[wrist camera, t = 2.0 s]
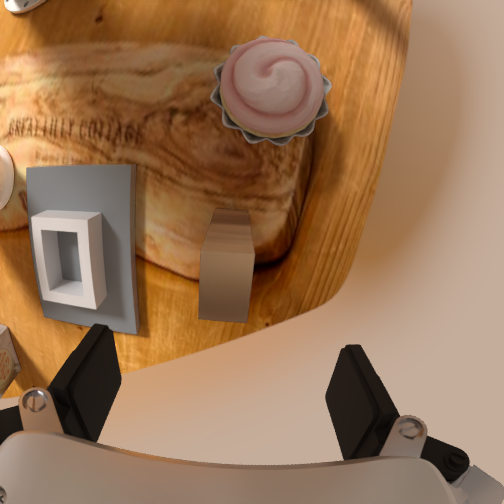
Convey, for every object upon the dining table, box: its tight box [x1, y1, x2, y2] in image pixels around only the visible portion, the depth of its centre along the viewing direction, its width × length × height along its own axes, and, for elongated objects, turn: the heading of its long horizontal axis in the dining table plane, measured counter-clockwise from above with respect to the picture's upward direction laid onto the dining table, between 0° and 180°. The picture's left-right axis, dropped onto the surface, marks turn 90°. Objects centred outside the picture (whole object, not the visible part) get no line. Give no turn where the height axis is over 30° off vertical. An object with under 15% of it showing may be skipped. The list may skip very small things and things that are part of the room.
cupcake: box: [210, 35, 332, 146], centre depth 20 cm, size 9×9×10 cm
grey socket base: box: [26, 164, 140, 335], centre depth 26 cm, size 18×13×4 cm
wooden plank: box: [198, 208, 255, 323], centre depth 23 cm, size 4×3×12 cm, turn 174°
